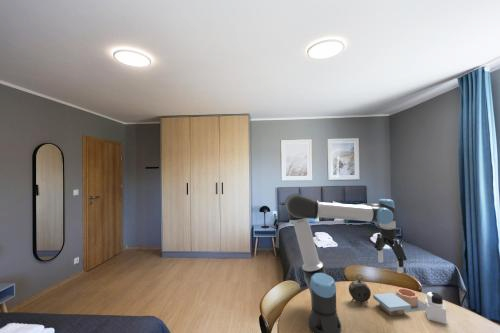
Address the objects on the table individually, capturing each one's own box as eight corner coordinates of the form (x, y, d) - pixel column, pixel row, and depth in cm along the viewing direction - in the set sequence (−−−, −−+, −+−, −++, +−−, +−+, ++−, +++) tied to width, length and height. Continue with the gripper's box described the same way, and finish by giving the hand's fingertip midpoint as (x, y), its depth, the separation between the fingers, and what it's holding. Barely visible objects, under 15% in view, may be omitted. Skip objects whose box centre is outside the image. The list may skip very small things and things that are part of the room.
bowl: (406, 308, 118) (406, 298, 118) (392, 298, 128) (392, 288, 128) (422, 306, 119) (421, 296, 120) (407, 296, 129) (407, 287, 129)
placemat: (406, 313, 115) (406, 312, 115) (384, 296, 130) (383, 295, 130) (433, 309, 117) (433, 309, 117) (407, 293, 132) (407, 293, 132)
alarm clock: (368, 300, 126) (367, 272, 127) (372, 306, 121) (371, 276, 122) (348, 300, 128) (347, 272, 128) (352, 305, 122) (350, 276, 123)
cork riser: (390, 316, 112) (390, 308, 112) (379, 307, 120) (379, 299, 120) (404, 314, 113) (404, 306, 113) (392, 305, 121) (392, 298, 121)
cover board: (389, 311, 110) (389, 307, 110) (373, 297, 122) (373, 294, 122) (410, 308, 112) (410, 305, 112) (392, 295, 124) (392, 292, 124)
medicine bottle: (443, 316, 111) (441, 292, 112) (447, 324, 105) (445, 299, 106) (425, 312, 115) (424, 289, 115) (428, 320, 109) (426, 295, 109)
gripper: (413, 233, 107) (416, 277, 106) (377, 222, 131) (379, 258, 131) (400, 234, 106) (402, 278, 105) (366, 223, 130) (368, 259, 130)
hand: (390, 267), depth 118 cm, fingers open, 13 cm apart
